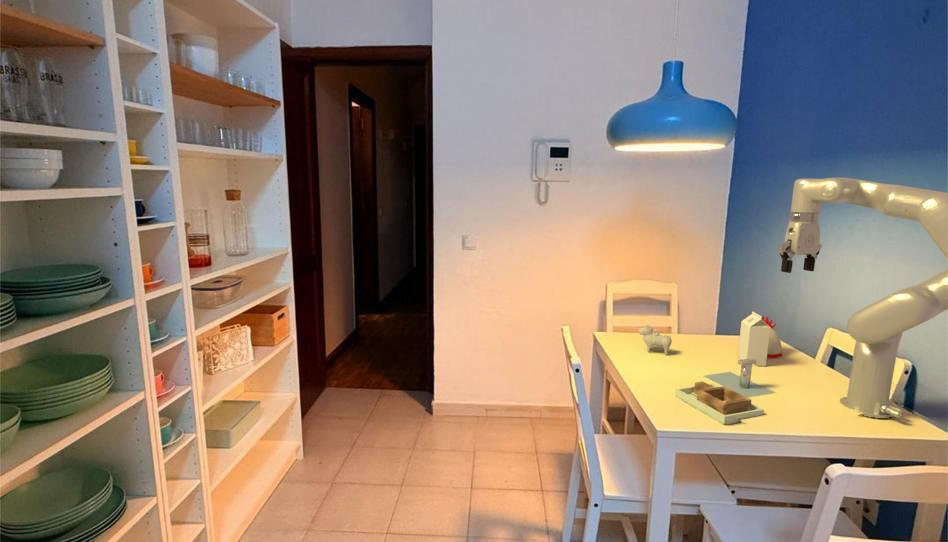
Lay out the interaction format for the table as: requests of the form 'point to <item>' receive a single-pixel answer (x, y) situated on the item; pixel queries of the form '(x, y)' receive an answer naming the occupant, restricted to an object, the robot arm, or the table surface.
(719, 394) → the open wooden box
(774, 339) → the kitchen timer
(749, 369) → the stake
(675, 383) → the table surface
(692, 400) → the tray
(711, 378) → the stake board
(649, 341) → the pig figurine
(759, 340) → the milk carton
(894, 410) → the robot arm
